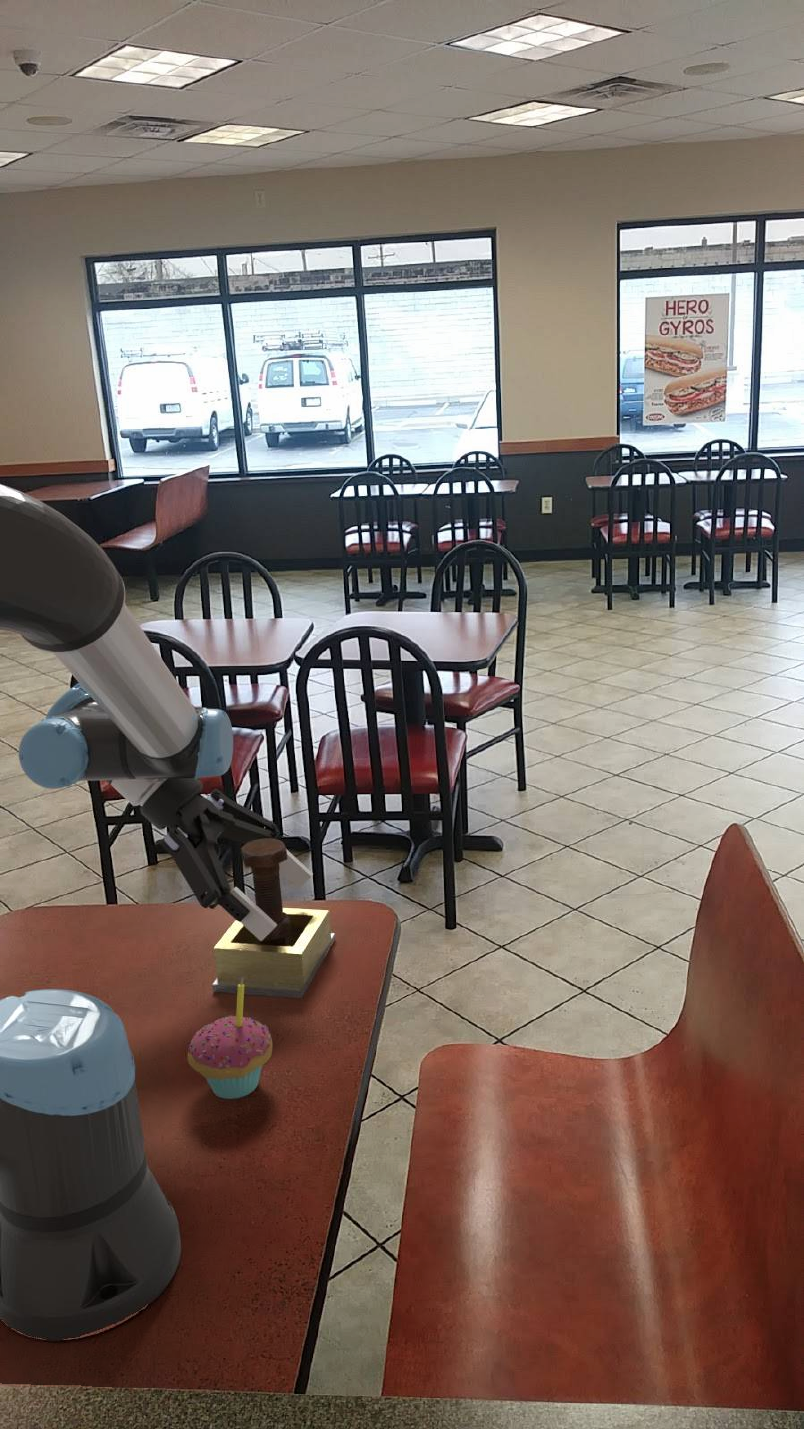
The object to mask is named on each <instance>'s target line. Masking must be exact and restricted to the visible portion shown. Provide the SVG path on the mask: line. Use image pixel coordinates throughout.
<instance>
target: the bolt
mask: <svg viewBox="0 0 804 1429" xmlns="http://www.w3.org/2000/svg"><path fill="white" fill-rule="evenodd" d="M286 849H287V848H286V844H285V843H284V842H283V841H282V840H279V839H277V838H276V839H273V838H266V839H259V840H254V841H250V842H248V843H247V844H243V846H242V847H241V848H240V856H241V859H242V861H243V865H244V866H245V868H250V870H251V871H250V872H251V874H252V881H253V889H254V890H253V891H254V901H255V904H256V905H257V906H258V907H259V908H260V909H261V910H262V911H263V912H264V913H265V914H266V915H268V916H269V917H270V918H271V919H272V920H273V921H274V922H275V923H276V924H277V926H276V927H275V928H274V929H273V930H272V931H271V932H270V933H269V934H268V935H267V936H266V937H265V938H264V939H263V940H262V941H260V945H272V946H286V939H285V938H286V937H285V936H286V935H287V934H288V933H289V932H290V931H291V926H290V920H289V917H288V915H287V914H286V913H285V912H283V908H284V907H283V898H282V896H283V895H282V890H281V889H282V888H281V878H280V874H281V873H280V872H279V870H280V867H279V863H281V862H283V861H285V860H287V850H288V849H287V850H286ZM255 937H256V936H255ZM256 938H257V937H256Z"/></svg>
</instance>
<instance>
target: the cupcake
mask: <svg viewBox="0 0 804 1429" xmlns="http://www.w3.org/2000/svg"><path fill="white" fill-rule="evenodd" d="M243 979H244V978H243V977H242V979H241V984H239V985H238V992H237V994H236V995H237V996H236V1012H235V1013H236V1014H235V1015H227V1016H225V1017H222V1018H218V1019H217V1020H213V1021H211V1022H209V1023H206V1024H205V1025H204V1026H203V1027H201V1029H199V1030H197V1031H195V1033H194V1035H193V1038H192V1039H191V1041H190V1042H188V1046H189V1047H188V1052H187V1061H188V1062H187V1063H188V1065H190V1067H191V1068H192V1069H193V1070H194V1071H195V1072H197V1073H200V1074H201V1077H203V1078H206V1081H207V1083H208V1084H209V1087H210V1088H211V1090H212V1092H213V1093H214V1094H215V1096H217V1097H218V1098H222V1099H225V1100H227V1099H228V1100H234V1099H240V1098H244V1097H245V1096H247V1095H250V1094H251V1093H252V1092H253V1091H255V1090H256V1088H257V1087H258V1084H259V1081H260V1077H261V1073H262V1072H261V1071H262V1068H263V1065H264V1064H265V1063H267V1062H268V1061H269V1060H270V1058H271V1057H272V1053H273V1039H272V1034H271V1033H272V1032H270V1030H269V1027H268V1026H266V1024H263V1023H261V1022H260V1021H259V1020H256V1019H255V1018H251V1017H246V1016H245V1015H244V1002H245V1001H244V999H245V994H244V985H243ZM243 1015H244V1016H243Z"/></svg>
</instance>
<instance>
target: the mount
mask: <svg viewBox="0 0 804 1429" xmlns="http://www.w3.org/2000/svg"><path fill="white" fill-rule="evenodd" d="M283 912H285V913H286V914H287V915H288V917H289V920H290V926H291V931H290V932H289V933H288V934H287V935H286V936H285V937H286V938H285V939H286V946H272V945H260V940H259V939H258V938H256V937H255V935H253V934H252V933H251V932H250V931H249V930H248V929H247V928H246V927H245V926H244V925H243V924H242V923H240V922H239V921H237V920H236V919H234V922H232V924H231V925H230V926H229V928H228V929H227V931H226V932H225V933H224V934H223V935H222V937H221V938H220V939H219V941H217V944H215V946H214V947H213V954H214V961H215V962H214V963H215V969H216V970H215V971H216V977H217V978H216V979H215V980H214V982H213V983H212V992H213V993H225V994H235V995H237V992H238V985H239V984H241V979H242V977H243V978H244V979H243V985H244V995H250V996H262V997H263V996H265V997H277V998H286V999H287V998H288V999H299V1000H300V999H302V997H303V996H304V995H305V992H306V991H307V989H308V987H309V985H310V984H311V982H312V981H313V979H314V978H315V976H316V973H317V972H318V971H317V970H319V969H320V967H321V965H322V964H321V963H323V962H324V960H325V959H324V957H325V955H326V953H327V951H328V949H329V947H330V945H331V944H332V942H333V940H334V938H335V939H336V934H335V933H334V932H331V930H332V929H331V921H330V920H331V919H330V910H325V909H324V910H323V909H308V908H305V909H304V908H290V907H283ZM326 956H327V955H326ZM325 958H326V957H325ZM323 959H324V960H323ZM322 961H323V962H322ZM320 964H321V965H320ZM318 968H319V969H318Z"/></svg>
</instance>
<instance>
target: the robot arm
mask: <svg viewBox="0 0 804 1429" xmlns="http://www.w3.org/2000/svg"><path fill="white" fill-rule="evenodd" d="M125 601H126V588H125V583H124V581H123V578H122V576H121V574H120V573H119V571H118V570H117V568H116V565H114V563H113V562H112V560H111V559H110V558H109V556H108V555H107V553H106V552H105V550H104V549H103V548H102V547H101V546H100V545H99V544H98V543H97V542H96V541H95V540H94V539H93V538H92V537H91V536H90V535H89V534H88V533H87V532H85V531H84V530H83V529H81V527H79V526H78V525H77V524H75V523H74V522H73V521H72V520H70V519H68V517H66V516H65V515H63V514H62V513H60V512H59V511H57V510H56V509H54V508H53V507H51V506H49V505H47V504H46V503H44V502H43V501H41V500H39V499H37V498H35V497H33V496H31V495H29V494H27V493H25V492H22V491H21V490H17V489H16V488H15V489H14V488H12V487H9V486H8V485H4V484H1V483H0V631H6V632H12V633H16V634H19V635H21V637H22V638H23V640H25V641H26V642H27V643H28V644H29V645H30V646H32V647H33V648H36V649H37V650H40V651H42V652H46V653H49V654H50V653H51V654H53V655H54V656H55V657H56V658H57V660H59V662H61V664H62V665H63V666H64V667H65V668H66V669H67V671H68V672H69V673H70V674H71V675H72V676H73V678H75V680H76V681H77V683H76V684H75V685H74V686H73V687H71V688H69V689H68V690H67V691H65V692H64V693H63V694H62V695H61V696H60V697H59V698H58V699H57V700H56V701H55V702H54V704H53V705H52V706H51V707H50V708H49V710H48V712H47V713H46V715H45V718H42V719H41V721H39V722H38V723H36V724H34V725H32V726H31V727H30V728H28V730H27V731H26V732H25V733H24V735H23V736H22V738H21V741H20V742H19V746H18V758H19V759H18V760H19V764H20V767H21V768H22V771H23V773H24V774H25V775H26V777H27V778H29V780H30V781H31V782H33V783H34V784H36V785H38V786H40V787H41V788H44V789H49V790H51V789H52V790H53V789H54V790H57V789H62V788H65V787H66V788H68V787H71V786H72V785H75V784H77V783H78V782H82V781H83V782H84V781H106V782H107V783H108V784H109V785H111V787H113V788H114V789H115V790H116V791H117V792H118V793H119V794H120V795H121V796H122V797H123V798H124V799H125V800H127V802H129V803H130V804H131V805H132V806H133V807H136V806H140V810H139V811H140V814H141V815H142V816H143V817H145V819H146V820H148V821H149V822H150V824H151V825H153V826H154V827H155V828H156V829H158V830H161V831H162V830H164V829H166V828H169V830H168V832H167V833H166V835H164V837H163V838H162V839H161V840H160V841H159V843H160V845H161V847H162V848H163V849H164V850H165V851H166V852H167V853H168V854H169V855H170V856H171V857H172V859H173V861H174V863H175V864H176V866H177V868H178V870H179V871H180V873H181V874H182V876H183V878H184V879H185V881H186V882H187V884H188V886H189V888H190V889H191V891H192V893H193V895H194V896H195V898H196V900H197V901H198V903H199V905H200V906H201V907H202V908H204V909H208V908H209V909H211V910H214V909H216V908H217V907H218V906H220V907H221V908H222V909H224V910H225V911H226V912H227V913H228V915H230V916H231V917H232V918H233V919H234V920H237V921H239V922H240V923H242V924H243V925H244V926H245V927H246V928H247V929H248V930H249V931H250V932H251V933H252V934H253V935H255V936H256V937H257V938H258V939H259V940H260V941H262V940H263V939H264V938H265V937H266V936H267V935H268V934H269V933H270V932H271V931H272V930H273V929H274V928H275V927H276V926H277V924H276V923H275V922H274V921H273V920H272V919H271V918H270V917H269V916H268V915H266V914H265V913H264V912H263V911H262V910H261V909H260V908H259V907H258V906H257V905H256V902H254V901H253V900H252V899H251V898H249V897H248V896H247V895H246V894H245V893H244V892H243V891H241V889H240V888H238V887H237V886H235V887H234V888H233V889H231V886H230V884H229V881H228V879H227V876H226V874H225V871H224V869H223V866H222V864H221V861H220V859H219V857H218V854H217V852H216V848H215V844H216V840H217V839H222V838H224V839H228V840H231V841H233V842H237V843H240V844H243V845H245V844H247V843H248V842H250V841H254V840H259V839H266V838H273V839H277V837H278V836H279V835H280V834H281V833H280V830H279V828H278V826H277V824H276V823H274V822H273V821H271V820H269V819H268V818H265V817H264V816H261V815H260V814H258V813H256V811H255V812H254V811H253V810H250V809H249V808H247V807H246V806H243V805H241V804H240V803H238V802H236V801H234V800H232V799H231V798H229V797H228V796H227V795H225V794H224V793H223V792H222V791H221V790H220V789H217V788H214V789H213V790H212V791H211V792H210V794H208V796H207V797H205V796H203V795H201V791H202V790H203V786H204V785H203V783H202V782H201V781H200V780H199V778H211V777H212V778H213V777H220V776H223V775H224V774H226V772H228V771H229V768H230V766H231V763H232V761H233V754H234V734H233V728H232V726H233V725H232V723H231V720H230V718H229V716H228V713H227V712H225V711H224V710H222V709H219V708H208V707H202V708H197V709H196V707H195V706H194V704H192V702H191V700H190V699H189V697H188V696H187V695H186V693H185V691H184V690H183V688H182V687H181V686H180V684H179V683H178V681H177V680H176V678H175V676H174V675H173V673H172V672H171V671H170V669H169V668H168V666H167V665H166V663H165V662H164V660H163V658H162V657H161V655H160V654H159V652H158V651H157V650H156V648H155V646H154V644H152V642H151V641H150V639H149V637H148V636H147V635H146V633H145V632H144V630H143V628H142V627H141V625H140V624H139V623H138V621H137V619H136V618H135V617H134V615H133V613H132V612H131V610H130V609H129V608H128V606H127V604H126V602H125ZM286 850H287V860H285V861H283V862H281V863H279V867H280V870H279V874H281V876H283V877H284V878H285V879H286V880H287V881H288V882H290V884H292V885H293V886H294V888H296V889H297V890H299V889H301V888H302V886H304V885H305V884H306V883H307V882H308V880H310V878H312V877H313V875H314V873H313V872H312V871H311V870H309V869H308V868H307V867H306V865H304V864H303V863H302V862H301V860H299V859H298V858H296V856H294V855H293V854H292V852H291V851H289V850H288V849H287V848H286ZM23 994H24V995H23V996H15V995H10V996H7V997H4V998H2V999H0V1318H1V1319H2V1320H3V1321H4V1322H5V1323H6V1324H7V1325H8V1326H10V1327H11V1328H13V1329H15V1330H16V1331H19V1332H21V1333H23V1334H25V1335H27V1336H31V1337H33V1338H34V1337H35V1338H36V1337H37V1338H42V1339H46V1340H58V1341H57V1342H60V1341H59V1340H63V1339H68V1338H76V1337H80V1336H82V1335H85V1334H89V1333H91V1332H94V1331H97V1330H100V1329H103V1328H105V1327H107V1326H110V1325H112V1324H116V1323H117V1322H119V1321H122V1320H124V1319H125V1318H126V1317H128V1316H130V1315H131V1314H132V1315H133V1314H134V1313H136V1312H138V1311H139V1310H141V1309H142V1308H143V1307H145V1306H146V1305H147V1304H149V1303H151V1302H152V1301H153V1300H154V1301H155V1300H156V1299H158V1298H159V1296H160V1295H161V1294H162V1293H163V1292H164V1291H165V1290H166V1288H167V1286H168V1285H169V1284H170V1283H171V1281H172V1279H173V1278H174V1275H175V1273H176V1271H177V1268H178V1267H179V1263H180V1259H181V1254H182V1242H181V1235H180V1234H181V1233H180V1228H179V1227H180V1226H179V1221H178V1218H177V1217H178V1216H177V1214H176V1212H175V1209H174V1207H173V1205H172V1203H171V1202H170V1201H169V1199H168V1198H167V1196H166V1195H165V1194H164V1193H163V1191H162V1189H161V1187H160V1185H159V1183H158V1182H157V1180H156V1178H155V1176H154V1175H153V1173H152V1171H151V1170H150V1168H149V1165H148V1160H147V1156H146V1147H145V1139H144V1134H143V1126H142V1120H141V1118H142V1117H141V1111H140V1106H139V1099H138V1089H137V1084H136V1065H135V1060H134V1055H133V1053H132V1051H131V1048H130V1045H129V1041H128V1036H127V1033H126V1029H125V1025H124V1023H123V1021H122V1020H121V1018H120V1016H119V1015H118V1014H117V1013H115V1012H114V1009H113V1008H112V1007H111V1006H110V1005H109V1004H107V1003H106V1002H104V1001H102V1000H101V999H99V998H97V997H95V996H93V995H90V994H88V993H85V992H81V991H76V990H71V989H70V990H69V989H62V988H61V989H60V988H59V989H58V988H44V989H43V988H42V989H36V990H34V989H33V990H29V991H24V993H23ZM155 1298H156V1299H155ZM154 1301H153V1302H154ZM153 1302H152V1303H153ZM152 1303H151V1304H152ZM1 1319H0V1320H1ZM2 1320H1V1321H2ZM8 1326H7V1327H8Z"/></svg>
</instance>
